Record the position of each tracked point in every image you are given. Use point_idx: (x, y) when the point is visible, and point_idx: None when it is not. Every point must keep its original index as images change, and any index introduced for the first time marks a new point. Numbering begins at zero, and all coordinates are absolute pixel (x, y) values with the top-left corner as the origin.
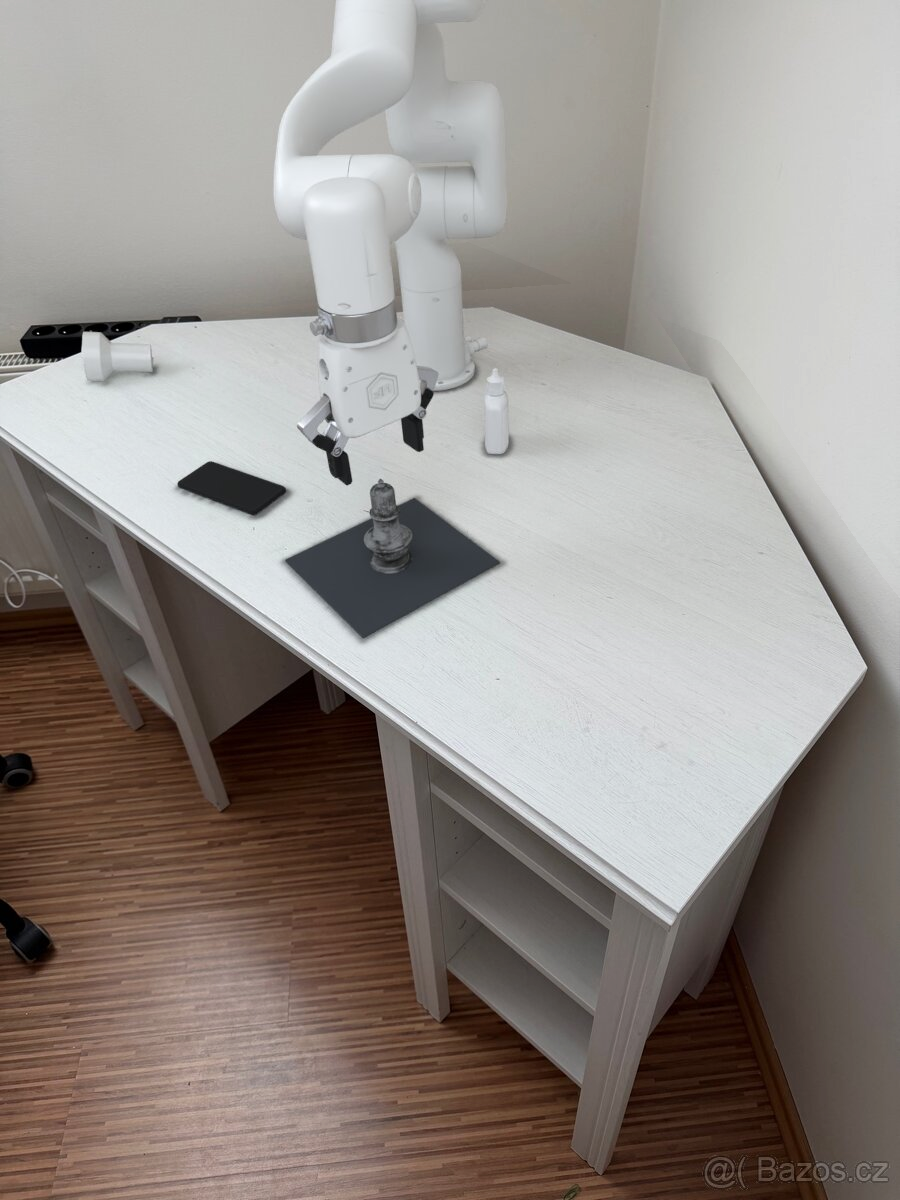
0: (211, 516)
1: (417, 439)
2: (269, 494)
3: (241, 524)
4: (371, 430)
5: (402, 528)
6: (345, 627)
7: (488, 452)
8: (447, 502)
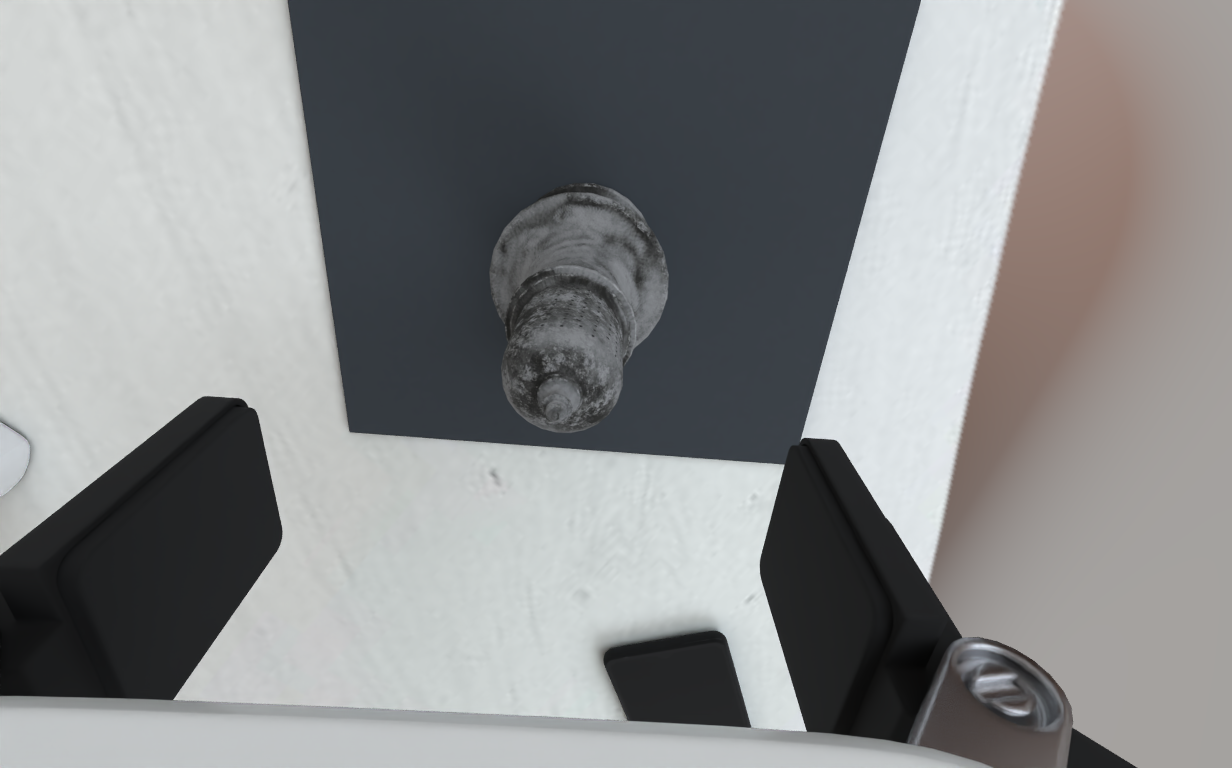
0: (782, 680)
1: (184, 459)
2: (651, 663)
3: (758, 625)
4: (715, 747)
5: (517, 274)
6: (905, 100)
7: (25, 444)
8: (270, 352)
